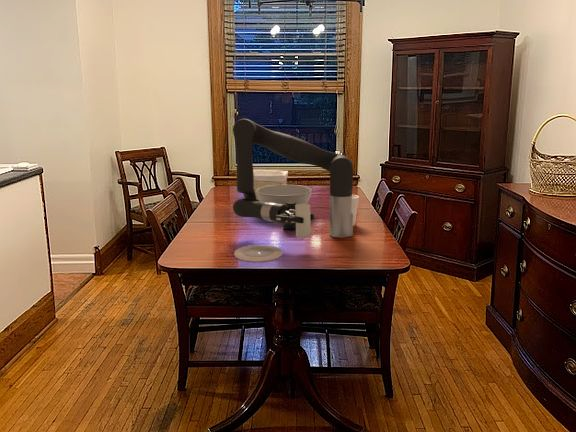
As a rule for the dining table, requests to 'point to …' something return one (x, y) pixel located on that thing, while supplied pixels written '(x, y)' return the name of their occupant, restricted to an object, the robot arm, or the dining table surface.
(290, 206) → the supplement bottle
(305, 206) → the white tapered cylinder
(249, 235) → the dining table surface
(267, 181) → the storage basket
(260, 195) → the decorative bowl
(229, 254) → the dining table surface
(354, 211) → the foam cup
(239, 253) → the dish
